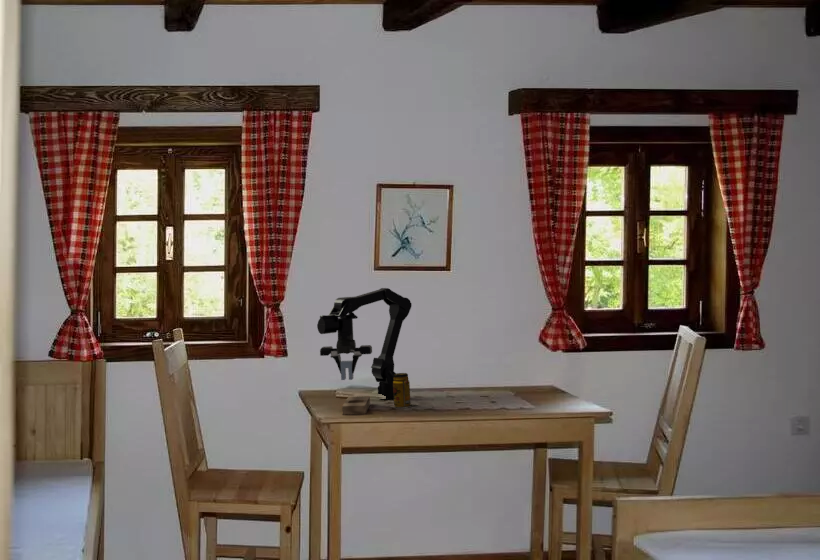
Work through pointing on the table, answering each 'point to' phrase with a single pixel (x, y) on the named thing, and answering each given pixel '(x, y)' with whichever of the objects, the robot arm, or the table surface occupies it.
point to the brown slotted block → (356, 405)
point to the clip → (343, 369)
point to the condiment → (401, 391)
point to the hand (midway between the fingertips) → (347, 373)
